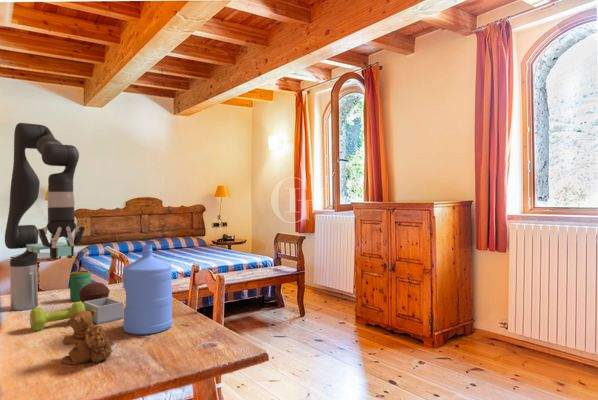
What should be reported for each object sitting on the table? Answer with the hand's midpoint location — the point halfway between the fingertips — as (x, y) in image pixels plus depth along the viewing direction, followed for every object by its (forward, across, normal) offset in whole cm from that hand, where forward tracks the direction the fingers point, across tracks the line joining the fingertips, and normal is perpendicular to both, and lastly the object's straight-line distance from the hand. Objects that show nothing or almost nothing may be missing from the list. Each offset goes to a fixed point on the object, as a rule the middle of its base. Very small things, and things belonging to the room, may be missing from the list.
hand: (61, 258), depth 135 cm
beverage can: (+25, -22, -43) cm, 54 cm away
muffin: (+25, -20, -24) cm, 40 cm away
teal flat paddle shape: (-1, 0, -7) cm, 7 cm away
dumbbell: (+25, -2, -10) cm, 27 cm away
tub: (+24, -16, -7) cm, 30 cm away
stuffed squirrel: (+25, +3, +29) cm, 38 cm away
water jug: (+25, -21, +16) cm, 36 cm away
